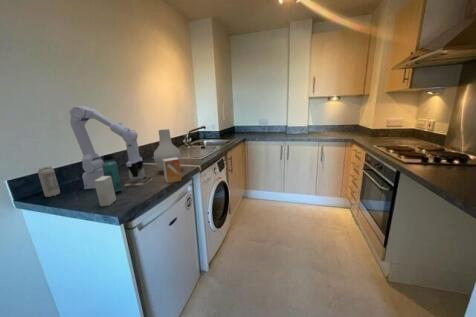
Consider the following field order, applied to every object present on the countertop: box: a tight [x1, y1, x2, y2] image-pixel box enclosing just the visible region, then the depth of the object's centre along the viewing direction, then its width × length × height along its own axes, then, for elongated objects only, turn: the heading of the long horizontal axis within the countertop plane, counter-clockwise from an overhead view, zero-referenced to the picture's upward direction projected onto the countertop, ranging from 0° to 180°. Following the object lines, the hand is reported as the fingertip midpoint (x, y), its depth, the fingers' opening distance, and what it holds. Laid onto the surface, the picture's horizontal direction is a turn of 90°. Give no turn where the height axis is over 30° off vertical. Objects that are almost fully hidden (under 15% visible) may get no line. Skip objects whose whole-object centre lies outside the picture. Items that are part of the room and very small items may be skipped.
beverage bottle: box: [102, 153, 122, 193], centre depth 100 cm, size 6×7×20 cm
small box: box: [162, 157, 183, 184], centre depth 115 cm, size 8×6×13 cm
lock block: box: [128, 167, 146, 181], centre depth 115 cm, size 7×4×6 cm, turn 91°
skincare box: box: [94, 176, 117, 207], centre depth 89 cm, size 6×4×12 cm
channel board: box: [123, 175, 153, 187], centre depth 116 cm, size 12×9×2 cm
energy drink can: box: [37, 165, 61, 198], centre depth 101 cm, size 6×6×15 cm
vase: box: [153, 129, 181, 171], centre depth 131 cm, size 17×16×28 cm
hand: (137, 175), depth 115 cm, fingers closed on lock block, 4 cm apart
